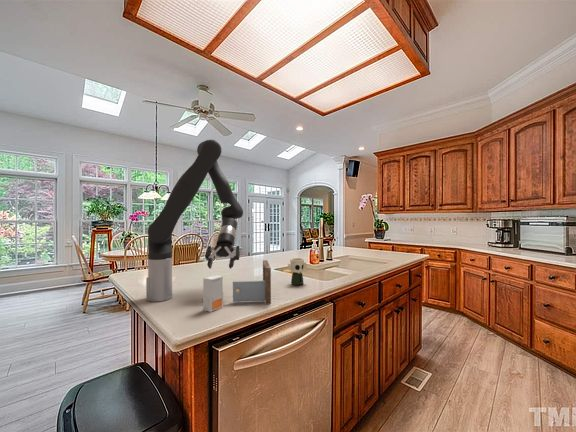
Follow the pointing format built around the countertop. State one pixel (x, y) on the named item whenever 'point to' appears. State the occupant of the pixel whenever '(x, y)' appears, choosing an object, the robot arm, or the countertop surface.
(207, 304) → the skincare box
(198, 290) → the countertop surface
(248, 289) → the door leaf
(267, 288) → the door frame
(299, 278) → the character mug
